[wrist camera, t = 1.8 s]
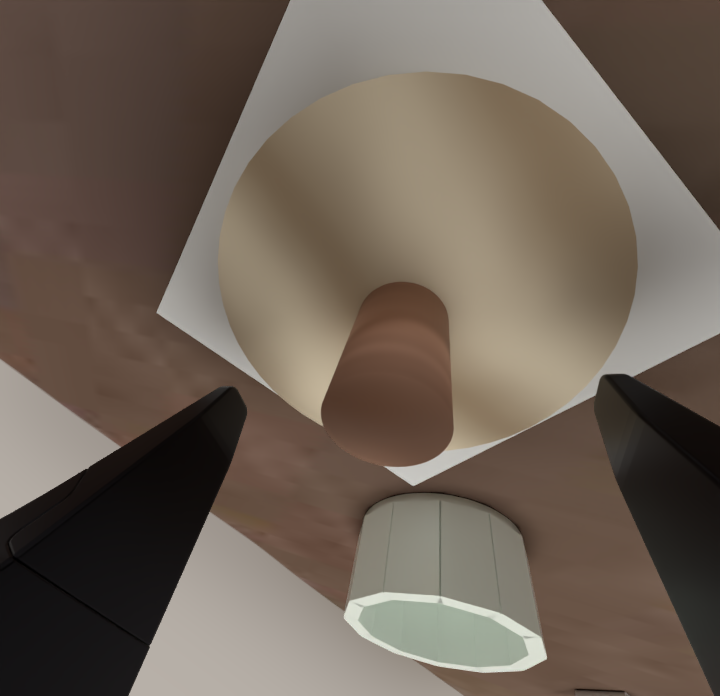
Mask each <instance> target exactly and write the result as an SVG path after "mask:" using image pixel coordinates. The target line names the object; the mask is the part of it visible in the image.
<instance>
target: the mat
mask: <svg viewBox="0 0 720 696" xmlns="http://www.w3.org/2000/svg"><path fill="white" fill-rule="evenodd" d="M416 72H439V73H452V74H465V75H469V76H473V77H477V78H481V79H485V80H489V81H493V82H497V83H501V84H504V85H506V86H509V87H511V88H513V89H515V90H518V91H520V92H522V93H524V94H527V95H529V96H531V97H533V98H535V99H538V100H540V101H541V102H542V103H544V104H545V105H547V106H548V107H550V108H551V109H553V110H554V111H556V112H557V113H559V114H560V115H561V116H563V117H564V118H566V119H567V120H569V121H570V122H571V123H572V124H573V125H574V126H575V127H576V128H577V129H578V130H579V131H580V132H581V133H582V134H583V135H584V136H585V137H586V138H587V139H588V140H589V141H590V142H591V143H592V144H593V145H594V146H595V147H596V148H597V150H598V151H599V152H600V154H601V155H602V157H603V158H604V160H605V161H606V163H607V164H608V165H609V167H610V168H611V170H612V171H613V173H614V174H615V176H616V178H617V180H618V182H619V185H620V187H621V189H622V191H623V194H624V196H625V198H626V200H627V203H628V205H629V208H630V212H631V217H632V221H633V225H634V229H635V233H636V241H637V259H638V271H637V279H636V288H635V296H634V299H633V303H632V306H631V310H630V313H629V317H628V320H627V323H626V325H625V327H624V330H623V332H622V334H621V336H620V338H619V340H618V343H617V345H616V347H615V348H614V350H613V351H612V353H611V354H610V356H609V358H608V359H607V361H606V362H605V364H604V365H603V367H602V368H601V369H600V371H599V372H598V373H597V374H596V375H595V376H594V378H593V379H592V380H591V381H590V382H589V383H588V385H587V386H586V387H585V388H584V389H583V390H582V391H580V392H579V393H578V394H577V395H576V396H575V397H574V398H573V399H572V400H571V401H570V402H568V403H567V404H566V405H564V406H563V407H562V408H560V409H559V410H557V411H556V412H555V413H553V414H552V415H551V416H549V417H547V418H546V419H544V420H542V421H540V422H539V423H541V422H543V421H545V420H547V419H549V418H551V417H553V416H555V415H557V414H559V413H561V412H563V411H565V410H567V409H569V408H571V407H573V406H575V405H577V404H579V403H581V402H583V401H585V400H587V399H589V398H591V397H593V396H595V395H596V393H597V388H598V384H599V380H600V378H601V376H602V375H604V374H627V375H629V376H631V377H633V376H635V375H637V374H639V373H641V372H643V371H645V370H647V369H649V368H651V367H653V366H655V365H657V364H659V363H661V362H663V361H665V360H667V359H669V358H671V357H673V356H675V355H677V354H679V353H681V352H683V351H685V350H687V349H689V348H691V347H693V346H695V345H697V344H699V343H701V342H703V341H705V340H707V339H709V338H711V337H713V336H715V335H717V334H719V333H720V230H719V229H718V228H717V226H716V225H715V224H714V223H713V221H712V220H711V219H710V217H709V216H708V215H707V214H706V212H705V211H704V210H703V208H702V207H701V206H700V204H699V203H698V202H697V201H696V199H695V198H694V197H693V195H692V194H691V193H690V192H689V190H688V189H687V188H686V186H685V185H684V184H683V182H682V181H681V180H680V179H679V177H678V176H677V175H676V173H675V172H674V171H673V170H672V168H671V167H670V166H669V164H668V163H667V162H666V161H665V159H664V158H663V157H662V155H661V154H660V153H659V151H658V150H657V149H656V148H655V146H654V145H653V144H652V142H651V141H650V140H649V139H648V137H647V136H646V135H645V133H644V132H643V131H642V129H641V128H640V127H639V126H638V124H637V123H636V122H635V120H634V119H633V118H632V117H631V115H630V114H629V113H628V111H627V110H626V109H625V107H624V106H623V105H622V104H621V102H620V101H619V100H618V98H617V97H616V96H615V95H614V93H613V92H612V91H611V89H610V88H609V87H608V85H607V84H606V83H605V82H604V80H603V79H602V78H601V76H600V75H599V74H598V73H597V71H596V70H595V69H594V67H593V66H592V65H591V63H590V62H589V61H588V60H587V58H586V57H585V56H584V54H583V53H582V52H581V51H580V49H579V48H578V47H577V45H576V44H575V43H574V41H573V40H572V39H571V38H570V36H569V35H568V34H567V32H566V31H565V30H564V29H563V27H562V26H561V25H560V23H559V22H558V21H557V20H556V18H555V17H554V16H553V14H552V13H551V12H550V10H549V9H548V8H547V7H546V5H545V4H544V3H543V1H542V0H290V2H289V5H288V7H287V9H286V12H285V14H284V16H283V19H282V21H281V23H280V26H279V28H278V30H277V33H276V35H275V37H274V40H273V42H272V44H271V47H270V49H269V51H268V54H267V56H266V58H265V61H264V63H263V65H262V68H261V70H260V72H259V75H258V77H257V79H256V82H255V84H254V86H253V89H252V91H251V93H250V96H249V98H248V100H247V103H246V105H245V107H244V110H243V112H242V114H241V117H240V119H239V121H238V124H237V126H236V128H235V131H234V133H233V135H232V138H231V140H230V142H229V145H228V147H227V149H226V152H225V154H224V156H223V159H222V161H221V163H220V166H219V168H218V170H217V173H216V175H215V177H214V180H213V182H212V184H211V187H210V189H209V191H208V194H207V196H206V198H205V201H204V203H203V205H202V208H201V210H200V212H199V215H198V217H197V219H196V222H195V224H194V226H193V229H192V231H191V233H190V236H189V238H188V240H187V243H186V245H185V247H184V250H183V252H182V254H181V257H180V259H179V261H178V264H177V266H176V268H175V271H174V273H173V275H172V278H171V280H170V282H169V285H168V287H167V289H166V292H165V294H164V296H163V299H162V301H161V303H160V306H159V308H158V310H157V313H158V314H159V315H161V316H162V317H164V318H165V319H166V320H168V321H169V322H171V323H172V324H174V325H175V326H177V327H178V328H180V329H181V330H183V331H184V332H186V333H187V334H189V335H190V336H192V337H193V338H195V339H196V340H198V341H199V342H201V343H202V344H204V345H205V346H206V347H208V348H209V349H211V350H212V351H214V352H215V353H217V354H218V355H220V356H221V357H223V358H224V359H226V360H227V361H229V362H230V363H232V364H233V365H235V366H236V367H238V368H239V369H241V370H242V371H243V372H245V373H246V374H248V375H249V376H251V377H252V378H254V379H255V380H257V381H258V382H260V383H261V384H263V385H264V386H266V387H267V388H269V389H270V390H272V388H271V387H270V386H269V385H268V384H267V383H266V382H265V381H264V380H263V379H262V378H261V377H260V375H259V374H258V373H257V371H256V370H255V369H254V367H253V366H252V365H251V363H250V362H249V361H248V359H247V357H246V356H245V354H244V352H243V351H242V349H241V347H240V346H239V344H238V342H237V340H236V338H235V335H234V333H233V331H232V329H231V327H230V324H229V321H228V318H227V315H226V312H225V309H224V306H223V301H222V296H221V291H220V286H219V274H218V250H219V237H220V232H221V228H222V223H223V219H224V214H225V211H226V208H227V206H228V203H229V200H230V198H231V195H232V193H233V190H234V187H235V186H236V184H237V182H238V180H239V179H240V177H241V175H242V173H243V172H244V170H245V168H246V166H247V165H248V163H249V161H250V160H251V159H252V158H253V156H254V155H255V154H256V153H257V151H258V150H259V149H260V148H261V146H262V145H263V144H264V143H265V141H266V140H267V139H268V138H269V137H270V136H271V135H272V134H273V133H275V132H276V131H277V130H278V129H279V128H280V127H281V126H282V125H283V124H284V123H286V122H287V121H288V120H289V119H290V118H291V117H293V116H294V115H296V114H297V113H299V112H300V111H302V110H303V109H305V108H306V107H308V106H309V105H311V104H312V103H314V102H315V101H317V100H319V99H320V98H323V97H325V96H327V95H329V94H332V93H334V92H336V91H338V90H341V89H343V88H345V87H347V86H350V85H352V84H356V83H359V82H363V81H367V80H371V79H375V78H379V77H382V76H386V75H394V74H405V73H416ZM272 391H273V390H272ZM273 392H275V391H273ZM275 393H276V392H275ZM276 394H277V393H276ZM539 423H537V424H539ZM537 424H535V425H537ZM535 425H533V426H535ZM533 426H532V427H533ZM530 428H531V427H530ZM527 429H529V428H527ZM527 429H525V430H527ZM525 430H523V431H525ZM523 431H521V432H523ZM521 432H518V433H516V434H514V435H512V436H509V437H506V438H503V439H500V440H497V441H494V442H491V443H487V444H483V445H479V446H474V447H470V448H463V449H456V450H448V451H443V452H442V453H441V454H440V455H438V456H437V457H435V458H434V459H432V460H430V461H428V462H425V463H422V464H418V465H414V466H407V467H388V466H384V467H386V468H387V469H389V470H390V471H392V472H393V473H394V474H396V475H397V476H399V477H400V478H402V479H403V480H405V481H406V482H408V483H409V484H411V485H412V486H415V485H417V484H419V483H421V482H423V481H425V480H427V479H429V478H431V477H433V476H435V475H437V474H439V473H441V472H443V471H445V470H447V469H449V468H451V467H453V466H455V465H457V464H459V463H461V462H463V461H465V460H467V459H469V458H471V457H473V456H475V455H477V454H479V453H481V452H483V451H485V450H487V449H489V448H491V447H493V446H495V445H497V444H499V443H501V442H503V441H505V440H507V439H509V438H511V437H513V436H515V435H517V434H519V433H521Z"/></svg>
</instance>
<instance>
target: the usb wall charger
mask: <svg viewBox="0 0 720 696" xmlns="http://www.w3.org/2000/svg"><path fill="white" fill-rule="evenodd" d="M575 696H630V695H628V694H627V693H626V692H614V691H590V690H575Z"/></svg>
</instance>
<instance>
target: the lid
mask: <svg viewBox="0 0 720 696" xmlns="http://www.w3.org/2000/svg"><path fill="white" fill-rule="evenodd" d="M637 271H638V259H637V241H636V233H635V229H634V225H633V221H632V217H631V212H630V208H629V205H628V203H627V200H626V198H625V196H624V194H623V191H622V189H621V187H620V185H619V182H618V180H617V178H616V176H615V174H614V173H613V171H612V170H611V168H610V167H609V165H608V164H607V163H606V161H605V160H604V158H603V157H602V155H601V154H600V152H599V151H598V150H597V148H596V147H595V146H594V145H593V144H592V143H591V142H590V141H589V140H588V139H587V138H586V137H585V136H584V135H583V134H582V133H581V132H580V131H579V130H578V129H577V128H576V127H575V126H574V125H573V124H572V123H571V122H570V121H569V120H567V119H566V118H564V117H563V116H561V115H560V114H559V113H557V112H556V111H554V110H553V109H551V108H550V107H548V106H547V105H545V104H544V103H542V102H541V101H540V100H538V99H535V98H533V97H531V96H529V95H527V94H524V93H522V92H520V91H518V90H515V89H513V88H511V87H509V86H506V85H504V84H501V83H497V82H493V81H489V80H485V79H481V78H477V77H473V76H469V75H465V74H452V73H439V72H416V73H405V74H394V75H386V76H382V77H379V78H375V79H371V80H367V81H363V82H359V83H356V84H352V85H350V86H347V87H345V88H343V89H341V90H338V91H336V92H334V93H332V94H329V95H327V96H325V97H323V98H320V99H319V100H317V101H315V102H314V103H312V104H311V105H309V106H308V107H306V108H305V109H303V110H302V111H300V112H299V113H297V114H296V115H294V116H293V117H291V118H290V119H289V120H288V121H287V122H286V123H284V124H283V125H282V126H281V127H280V128H279V129H278V130H277V131H276V132H275V133H273V134H272V135H271V136H270V137H269V138H268V139H267V140H266V141H265V143H264V144H263V145H262V146H261V148H260V149H259V150H258V151H257V153H256V154H255V155H254V156H253V158H252V159H251V160H250V161H249V163H248V165H247V166H246V168H245V170H244V172H243V173H242V175H241V177H240V179H239V180H238V182H237V184H236V186H235V187H234V190H233V193H232V195H231V198H230V200H229V203H228V206H227V208H226V211H225V214H224V219H223V223H222V228H221V232H220V237H219V250H218V274H219V286H220V291H221V296H222V301H223V306H224V309H225V312H226V315H227V318H228V321H229V324H230V327H231V329H232V331H233V333H234V335H235V338H236V340H237V342H238V344H239V346H240V347H241V349H242V351H243V352H244V354H245V356H246V357H247V359H248V361H249V362H250V363H251V365H252V366H253V367H254V369H255V370H256V371H257V373H258V374H259V375H260V377H261V378H262V379H263V380H264V381H265V382H266V383H267V384H268V385H269V386H270V387H271V388H272V390H273V391H275V392H276V393H277V394H278V395H279V396H280V397H281V398H282V399H284V400H285V401H286V402H287V403H288V404H289V405H291V406H292V407H294V408H295V409H296V410H298V411H299V412H300V413H302V414H303V415H305V416H306V417H308V418H310V419H311V420H313V421H315V422H316V423H318V424H320V425H322V426H324V428H325V430H326V432H327V434H328V435H329V436H330V438H331V439H332V440H333V441H334V442H335V443H336V444H337V445H338V446H339V447H340V448H342V449H343V450H344V451H346V452H347V453H349V454H351V455H352V456H354V457H356V458H358V459H361V460H363V461H366V462H369V463H372V464H376V465H381V466H388V467H407V466H414V465H418V464H422V463H425V462H428V461H430V460H432V459H434V458H435V457H437V456H438V455H440V454H441V453H442V452H443V451H448V450H456V449H463V448H470V447H474V446H479V445H483V444H487V443H491V442H494V441H497V440H500V439H503V438H506V437H509V436H512V435H514V434H516V433H518V432H521V431H523V430H525V429H527V428H530V427H532V426H533V425H535V424H537V423H539V422H540V421H542V420H544V419H546V418H547V417H549V416H551V415H552V414H553V413H555V412H556V411H557V410H559V409H560V408H562V407H563V406H564V405H566V404H567V403H568V402H570V401H571V400H572V399H573V398H574V397H575V396H576V395H577V394H578V393H579V392H580V391H582V390H583V389H584V388H585V387H586V386H587V385H588V383H589V382H590V381H591V380H592V379H593V378H594V376H595V375H596V374H597V373H598V372H599V371H600V369H601V368H602V367H603V365H604V364H605V362H606V361H607V359H608V358H609V356H610V354H611V353H612V351H613V350H614V348H615V347H616V345H617V343H618V340H619V338H620V336H621V334H622V332H623V330H624V327H625V325H626V323H627V320H628V317H629V313H630V310H631V306H632V303H633V299H634V296H635V288H636V279H637Z"/></svg>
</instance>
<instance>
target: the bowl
mask: <svg viewBox="0 0 720 696" xmlns="http://www.w3.org/2000/svg"><path fill="white" fill-rule="evenodd" d="M344 619H345V620H346V621H347V622H348V623H349V624H350V625H351V626H352V627H353V628H354V629H355V630H356V632H357V633H358V634H359V635H360V636H362V637H363V638H365V639H368V640H370V641H371V642H373V643H376V644H377V645H379V646H381V647H383V648H385V649H387V650H389V651H391V652H393V653H395V654H399V655H402V656H406V657H409V658H412V659H415V660H419V661H422V662H425V663H429V664H432V665H435V666H437V665H438V666H440V667H447V668H454V669H461V670H468V671H475V672H482V673H483V672H484V673H487V672H508V671H523V670H526V669H528V668H530V667H532V666H534V665H536V664H538V663H540V662H542V661H544V660H546V659H547V655H546V650H545V645H544V639H543V634H542V629H541V624H540V619H539V614H538V609H537V604H536V599H535V594H534V589H533V583H532V578H531V573H530V568H529V563H528V558H527V554H526V550H525V546H524V541H523V537H522V535H521V533H520V531H519V530H518V528H517V527H516V526H515V525H514V524H513V523H512V522H511V521H510V520H509V519H508V518H506V517H505V516H504V515H502V514H501V513H499V512H497V511H496V510H494V509H492V508H490V507H488V506H486V505H483V504H480V503H478V502H475V501H472V500H469V499H465V498H461V497H457V496H452V495H446V494H437V493H410V494H403V495H397V496H393V497H390V498H387V499H384V500H382V501H380V502H378V503H376V504H375V505H373V506H372V507H371V508H370V509H369V510H368V511H367V512H366V514H365V516H364V518H363V523H362V528H361V531H360V534H359V539H358V544H357V549H356V554H355V560H354V565H353V570H352V575H351V580H350V586H349V591H348V596H347V601H346V607H345V612H344Z"/></svg>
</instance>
